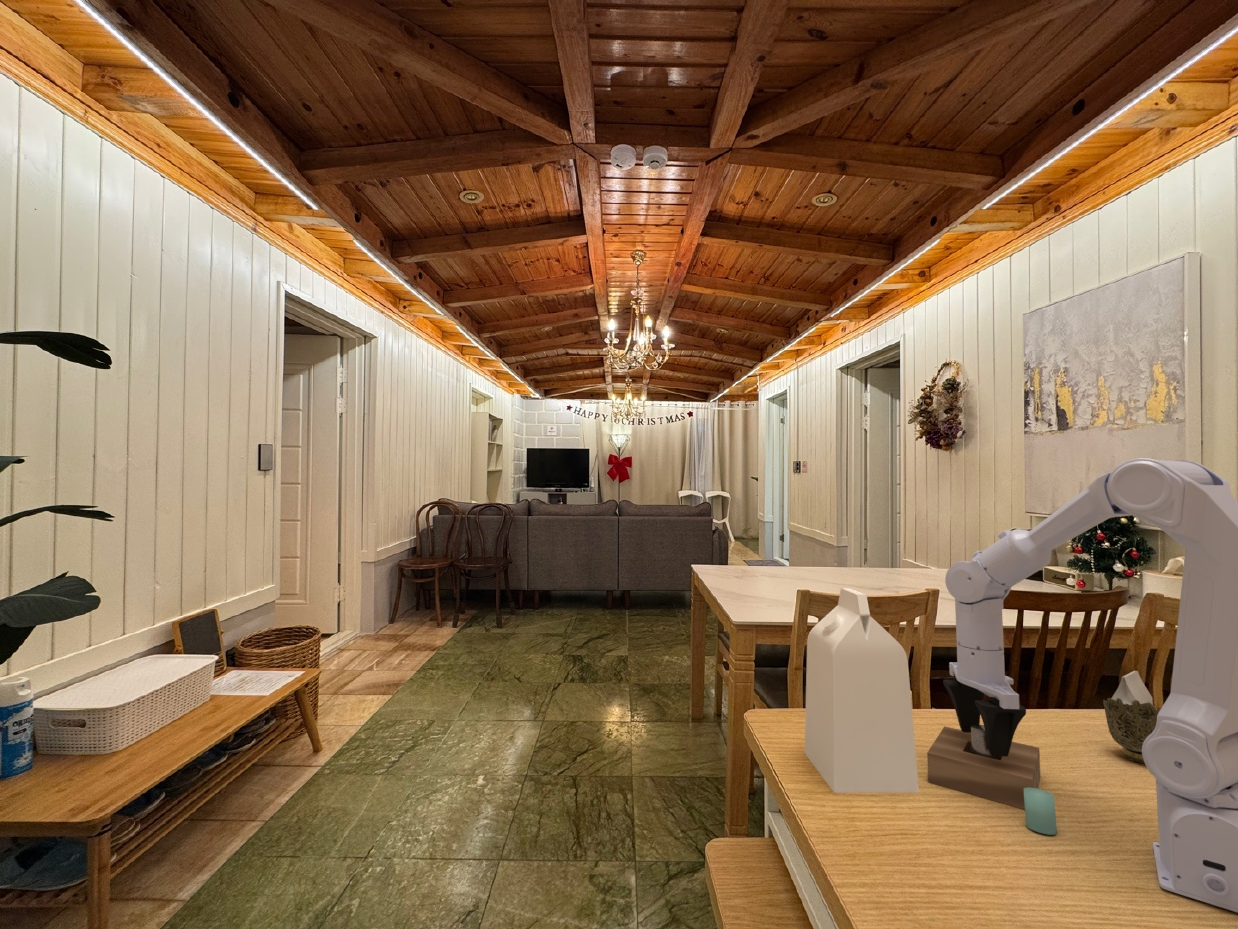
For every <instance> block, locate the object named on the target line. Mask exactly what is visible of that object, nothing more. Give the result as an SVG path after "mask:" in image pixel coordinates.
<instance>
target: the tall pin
mask: <svg viewBox="0 0 1238 929" xmlns="http://www.w3.org/2000/svg"><path fill="white" fill-rule="evenodd" d="M971 742H972V754H977V755H981V756H985V757H989V758H993V759H997V756H992V755H991V754H990V753H989V750H988V746H987V741H986V734H985V728H984V724H980V725H972V726H971Z"/></svg>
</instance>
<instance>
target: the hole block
mask: <svg viewBox="0 0 1238 929" xmlns="http://www.w3.org/2000/svg"><path fill="white" fill-rule="evenodd" d="M1040 755H1041V754H1040V747H1038V746H1033V745H1029V744H1025V743H1021V742H1020V743H1019V742H1016V741H1012V743H1011V747H1010V751H1009V754H1008V756H997V759H993V758H989V757H985V756H981V755H977V754H972V742H971V733H966V732H962V731H961V729H958V728H953V727H949V726H945V725H944V726H943V728H942V729H941V731H940V732H939V733H938V736H937V737H936V739H935V740H934V742H933V743H932V745H931V746H930V747H929V749H928V751H927V752H926V757H927V782H928V783H931V784H934V785H938V786H941V787H943V788H944V787H945V788H947V789H948V788H949V789H951V790H955V791H958V792H962V793H966V794H969V795H972V796H977V797H980V798H984V799H987V800H990V801H994V802H997V803H1000V804H1003V805H1008V806H1011V807H1014V808H1018V809H1021V810H1024V811H1025V804H1024V788H1028V787H1030V788H1038V789H1039V786H1040V781H1041V759H1040V758H1041V757H1040Z"/></svg>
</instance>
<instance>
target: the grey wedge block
mask: <svg viewBox="0 0 1238 929" xmlns="http://www.w3.org/2000/svg"><path fill="white" fill-rule="evenodd" d="M1117 698H1119V699H1121V700H1122V702H1123V704H1125V703H1127V704H1129V705H1132V704H1133V703H1132V701H1133V700H1138V701H1139V702H1140V704H1143V703H1151V704H1152V705H1153V706H1154V704H1153V703H1154V702H1153V696H1152V695H1151V693H1150V691H1149V690H1148V688H1147V686H1145V683H1144V682H1143V680H1142V678H1141V676H1140V673H1139V671H1138V670H1133V671H1131V672H1129V673H1128V674H1125V675H1123V676H1121V678H1120V682H1119V685H1118V687H1117V688H1116V690H1115V692H1114V693H1113V695H1112V697H1111V699H1113V700H1115V701H1116V699H1117ZM1131 703H1132V704H1131Z"/></svg>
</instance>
